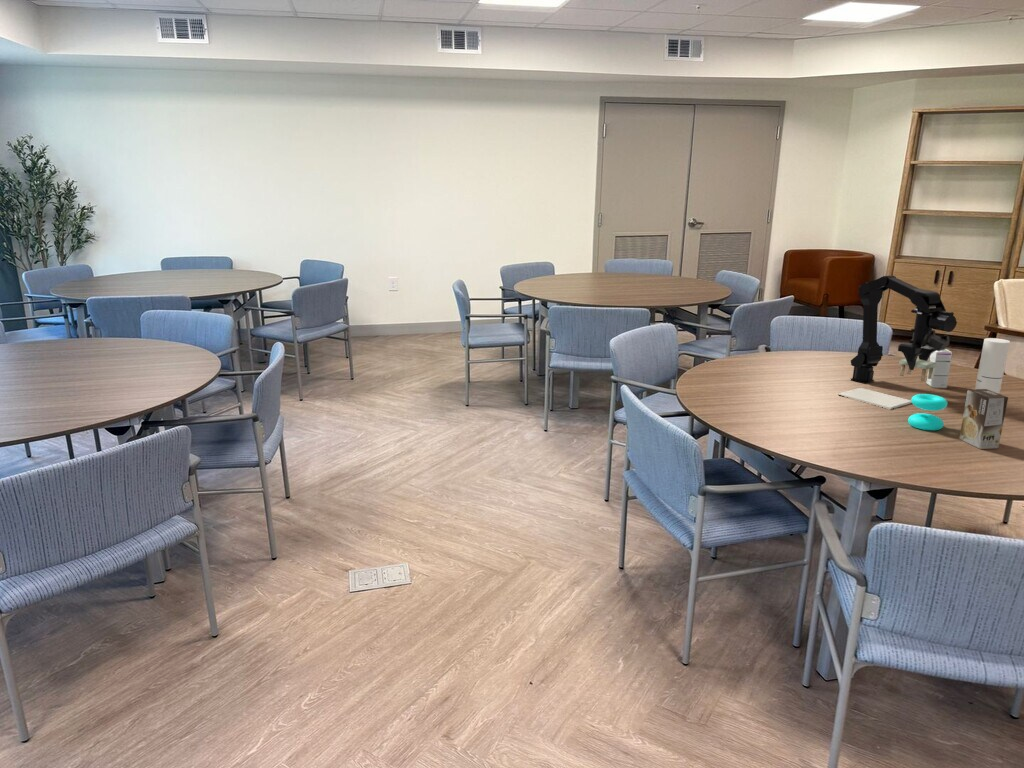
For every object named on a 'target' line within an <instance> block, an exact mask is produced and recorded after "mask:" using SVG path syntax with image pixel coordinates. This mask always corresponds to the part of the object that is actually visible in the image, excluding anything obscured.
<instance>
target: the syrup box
mask: <svg viewBox="0 0 1024 768" xmlns="http://www.w3.org/2000/svg"><path fill="white" fill-rule="evenodd" d="M952 356H953V352H952V351H951V350H950V349H947V348H945V349H944V350H941V351H935V352H933V353H931V355H930V357H929V361H930V362H935V363H937V367H934V368H933V373H932V379H928V374H929V369H927V373H926V374H927V375H926V381H925V384H926V385H928V387H930V388H934V389H947V388H948V382H949V377H950V371H951V370H950V369H951V363H952Z"/></svg>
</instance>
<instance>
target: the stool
mask: <svg viewBox="0 0 1024 768" xmlns="http://www.w3.org/2000/svg"><path fill="white" fill-rule="evenodd" d="M898 364H899V365H901V368H900V373H899V376H900V377H905V369H906V366H907V371H906V374H907V375H911V373H912V370H910V368H909V366H908V363H907V361H906V358H905V357H904V358H902V359H901V358H900V359H899V362H898ZM934 367H937V363H935V362H930V360H927V361H925V360H920V359H919V358H917V360H916V363H915V367H914V368H918V369H922V371H921V377H920V381H922V382H926V381H925V380H926V376H927V375H926V374H928V373H927V370H928V369H929V374H928V379H932V373H933V368H934Z"/></svg>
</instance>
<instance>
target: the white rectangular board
mask: <svg viewBox="0 0 1024 768" xmlns="http://www.w3.org/2000/svg"><path fill="white" fill-rule="evenodd" d="M838 394H839V395H843V396H846V397H849V398H852V399H856V400H859V401H858V402H860V401H862V402H861V403H863V402H866V403H865V404H867V403H869V404H868V405H871V404H873V405H872V406H874V405H876V406H875V407H878V406H879V407H878V408H882V407H883V408H882V409H885V408H886V409H887V410H894V409H897V408H899V407H904V406H907V405H910V404H913V403H912V401H911V399H906V398H902V397H898V396H895V395H890V394H886V393H882V392H880V391H879V392H878V391H875V390H872V389H868V388H863V387H858V388H854V389H850V390H847V391H843V392H842V391H841V392H839V393H837V395H838ZM849 398H848V399H849ZM852 399H851V400H852ZM856 400H855V401H856ZM893 408H894V409H893Z"/></svg>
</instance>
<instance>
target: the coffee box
mask: <svg viewBox="0 0 1024 768" xmlns="http://www.w3.org/2000/svg"><path fill="white" fill-rule="evenodd" d="M1008 401H1009V397H1008V396H1006V395H1003V394H998V393H995V392H993V391H990V390H987V389H975V388H974V389H968V390H967V392H966V399H965V403H964V409H963V416H962V419H961V420H962V421H961V426H960V434H959V440H960V441H963V442H965V443H967V444H969V445H971V446H972V447H973V446H974V448H977V449H980V450H984V449H998V448H999V446H1000V444H1001V443H1000V442H1001V436H1002V432H1003V428H1004V427H1003V426H1004V421H1005V415H1006V411H1007V405H1008Z"/></svg>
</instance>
